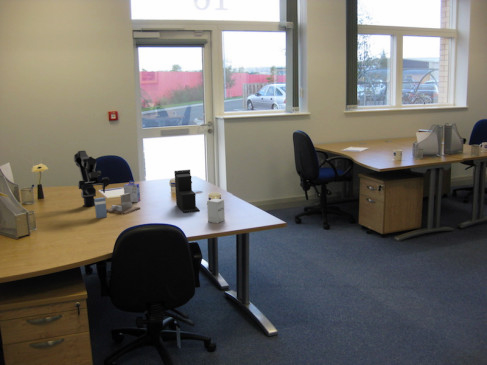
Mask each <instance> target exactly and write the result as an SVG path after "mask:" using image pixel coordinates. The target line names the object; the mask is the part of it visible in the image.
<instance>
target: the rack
mask: <svg viewBox="0 0 487 365" xmlns="http://www.w3.org/2000/svg"><path fill="white" fill-rule="evenodd" d="M120 203H121V204H117V205H114V204H112V205H111V207H108V208H106V211H107V213H113V212H114V214H120V213H121V215H127V214H129V213H132V212H136V211H137V210H141V207H139V206H134V205H133V202H131V198H130V193H126V194H124V193H123V194H121V195H120ZM135 210H136V211H135Z"/></svg>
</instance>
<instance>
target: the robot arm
mask: <svg viewBox="0 0 487 365" xmlns="http://www.w3.org/2000/svg"><path fill="white" fill-rule="evenodd" d="M73 161H74V163H75V166H77V167H78V168H79V172H80V175H81V176H80V177H81V180H79V181H78V183H77V184H78V185H77V187H78V189H79V190H81V191H80V194H81V198H82V199H83V205H82V207H89V208H90V207H95V201H94V199H95V198H94V197H96V196H97V190H96V188H95V186H96V185H101V186H102V187H101V188H102V193H103V194H105V193H106V187H108V186H109V185H110V178H109V177H102V178H101V180H99V179H100V178H99V177H101V176H102V171H101V170H97V171H96V166H97V159H96V158H94V157H93V156H90V155H89V154H87V151H86V150H78V151H77V153H75V154H74V156H73ZM94 185H95V186H94Z"/></svg>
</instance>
